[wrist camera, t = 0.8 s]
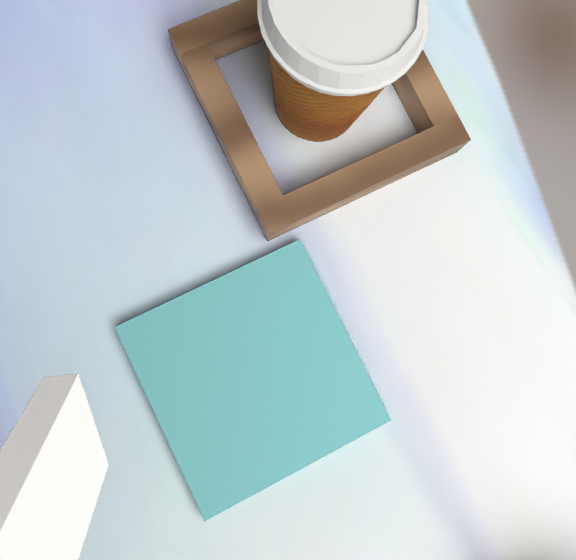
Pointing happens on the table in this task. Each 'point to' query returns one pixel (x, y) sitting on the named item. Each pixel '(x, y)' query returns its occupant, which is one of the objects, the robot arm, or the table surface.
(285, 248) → the mat
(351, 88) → the disposable coffee cup
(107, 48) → the table surface
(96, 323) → the table surface
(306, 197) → the pocket frame
